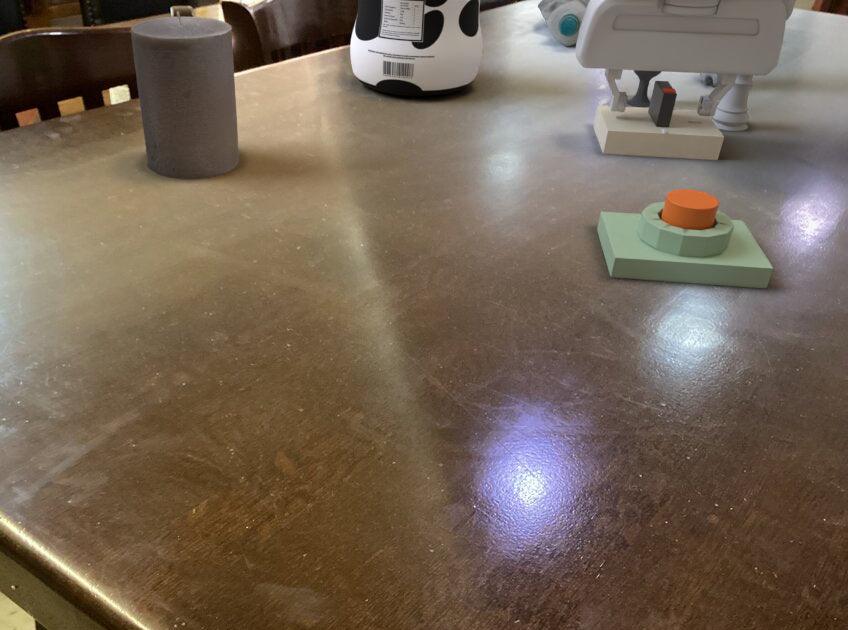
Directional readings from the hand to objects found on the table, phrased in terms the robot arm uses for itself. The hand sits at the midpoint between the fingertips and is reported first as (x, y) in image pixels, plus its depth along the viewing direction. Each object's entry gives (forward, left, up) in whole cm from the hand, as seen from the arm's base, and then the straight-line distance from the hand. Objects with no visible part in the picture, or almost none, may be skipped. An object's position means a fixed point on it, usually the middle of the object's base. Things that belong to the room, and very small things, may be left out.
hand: (660, 112), depth 89 cm
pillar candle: (+49, +14, -4) cm, 51 cm away
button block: (+3, +29, -4) cm, 29 cm away
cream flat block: (0, 0, -4) cm, 4 cm away
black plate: (0, 0, -1) cm, 1 cm away
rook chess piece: (-10, -8, -4) cm, 14 cm away
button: (+3, +29, 0) cm, 29 cm away
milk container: (+28, -19, -4) cm, 34 cm away
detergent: (+4, -54, -4) cm, 54 cm away
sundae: (-1, -15, -4) cm, 16 cm away
